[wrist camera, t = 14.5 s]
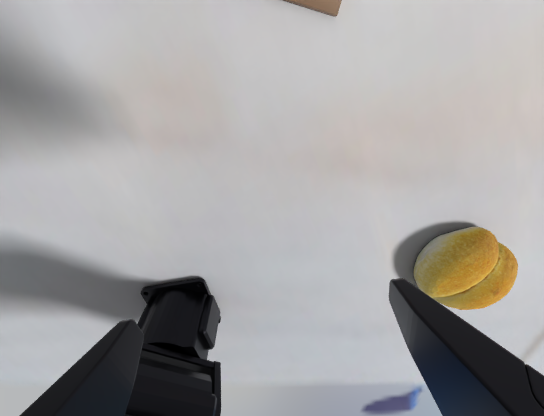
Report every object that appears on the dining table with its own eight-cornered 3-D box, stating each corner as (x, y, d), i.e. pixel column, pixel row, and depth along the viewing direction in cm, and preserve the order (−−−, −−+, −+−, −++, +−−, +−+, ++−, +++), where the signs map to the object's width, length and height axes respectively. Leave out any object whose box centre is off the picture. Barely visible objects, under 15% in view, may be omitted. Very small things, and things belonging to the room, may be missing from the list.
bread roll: (463, 208, 23) (499, 234, 19) (512, 255, 26) (552, 285, 22) (391, 266, 26) (411, 297, 22) (442, 301, 29) (467, 334, 25)
